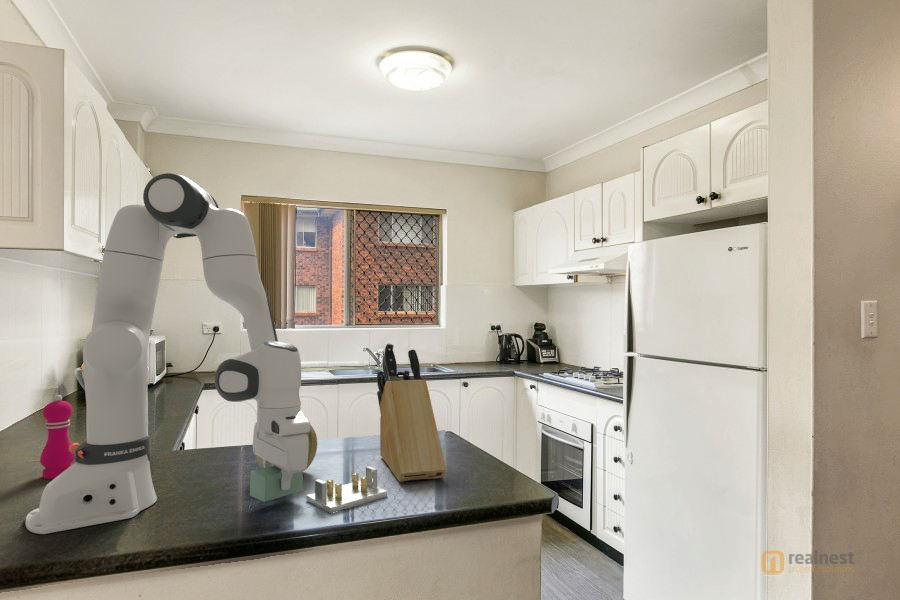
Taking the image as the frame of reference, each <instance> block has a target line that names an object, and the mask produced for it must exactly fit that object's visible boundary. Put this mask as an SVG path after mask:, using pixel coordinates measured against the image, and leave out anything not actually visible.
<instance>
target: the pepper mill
mask: <svg viewBox="0 0 900 600" xmlns="http://www.w3.org/2000/svg"><path fill="white" fill-rule="evenodd" d="M72 414H73V406H72V404H71V403H69V402H68V401H66V400H63V396H62V395H61V394H56V395H54V396H53V401H51V402H49V403H47V404H45V406H44V408H43V410H42V416H43V418H44V419H45V420H46V422H45V429H47V432H48V433H47V434H48V435H47V440H46V442H45V445H44V447H43V449H42V451H41V454H40V456H39V458H40V459H39V462H40V464H41V465H42V466H43V467H44V469H43V470H42V478H43V479H45V480H53V479H55V478H56V477H57V476H59V475H60V474H61V473H62V472H64V471H65V470H66V469H67V468H69V467H70V466H71V465H72V464H73V462H75V455H74V454H72V453H71V452H70V451H69V448H70V447H69V446H72V445H71V444H72V442H71V441H70V438H69V431H68V430H69V426H71V419H69V418H70V417H71V416H72Z"/></svg>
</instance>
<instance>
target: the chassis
mask: <svg viewBox="0 0 900 600" xmlns="http://www.w3.org/2000/svg"><path fill="white" fill-rule="evenodd" d="M386 497H388V490H387V489H384V488H381V487H379V486H378V469H377V468H375V467H374V466H370V465H368V466H366V467H365V476H361V477H360V480H359V473H358V472H354V473H352V474H351V482H349V483H346V484H343V483H339V482H338V483H336V484H334V479H327V480H326V481H325V480H322V479H315V480H314V492H312V493H309V494H306V498H305V499H306V500H307V501H306V502H309V503H310V504H312V505H313V504H314V505H313V506H316V507H317V508H319V507H320V508H319V509H320V510H323V511H325V512H326V511H327V513H328V512H329V514H330V513H332V514H334V513H333V512H335V513H337V512H336V511H338V512H341V511H340V510H342V511H344V510H343V509H345V510H347V508H348V509H351V508H353V507H354V508H355V507H357V506H361V505H364V504H367V503H370V502H373V501H377V500H381V499H383V498H386Z"/></svg>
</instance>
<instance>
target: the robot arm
mask: <svg viewBox="0 0 900 600" xmlns="http://www.w3.org/2000/svg"><path fill="white" fill-rule="evenodd" d="M142 197H143V198H142V199H143V204H128V205H125V206H122V207H121V208H120V209H119V210H117V212H116V214H115V216H114V218H113V221H112V224H111V226H110V229H109V232H108V234H107V238H106V242H105V247H104V249H103V250H104V251H103V256H102V262H101V267H100V271H99V277H98V282H97V287H96V296H95V297H96V298H95V303H94V304H95V305H94V312H93V319H92V326H91V331H90V332H89V333H88V334H87V336H86V337H85V339H84V341H83V345H82V346H83V347H82V363H83V379H84V381H83V382H84V392H85V394H84V395H85V404H86V406H85V407H86V411H85V412H86V413H85V414H86V415H85V416H86V418H85V419H86V420H85V422H86V424H85V425H86V441H84V442H82V443H81V444H79V443H78V442H73V443H71V445H72V446H69V447H70V448H69V451H70V452H71V453H72V454H74V455H75V460H74V463H72V464H71V466H70V467H69V468H67V469H66V470H65V471H64V472H62V473H61V474H60V475H59V476H57V477H56V478H55V479H51V481H49V482H47V484H46V486H45V488H44V489H43V491H42V493H41V496H40V501H39V506H38V507H37V508H35V509H33V510H31V511H30V512H28V514H27V515H26V516H25V527H26V529H27V530H28V531H29V532H31V533H33V534H39V535H46V534H51V533H57V532H62V531H68V530H73V529H79V528H84V527H89V526H93V525H100V524H105V523H111V522H116V521H121V520H126V519H130V518H131V519H132V518H133V517H134V518H135V516H137V515H138V514H139V513H140V512H141V511H143V510H145V509H147V508H149V507H151V506H152V505H154V503H156V502H157V500H158V497H157V494H156V491H155V488H154V484H153V480H152V474H151V468H150V467H151V465H150V461H151V456H152V441H151V440H152V439H151V435H150V434H149V397H148V395H149V394H148V393H149V392H148V390H149V388H148V387H149V386H148V346H149V340H150V336H151V330H152V324H153V320H154V319H153V318H154V313H155V309H156V303H157V297H158V293H159V287H160V286H159V285H160V281H161V275H162V270H163V264H164V263H163V262H164V258H165V252H166V247H167V244H168V241H169V240H171V239H172V238H175V239H182V238H191V237H196V238H197V239H198V242H199V244H200V248H201V258H202V259H201V260H202V271H203V276H204V280H205V282H206V286H207V288H208V289H209V291H210V292H211V293H212V294H213V295H214V296H215V297H217V298H218V299H220V300H221V301H224V302H225V303H227V304H229V305H231V306H232V307H233V308H234V309H236V310H237V311H238V312H239V314H240V315H241V316H242V318H243V320H244V323H245V327H246V328H245V329H246V332H247V337H248V341H249V346H250V351H249V352H247V353H243V354H241V355H238V356H234V357H230V358H228V359H225V360H223V361H222V362H221V363H220V364H219V365H218V367H217V369H216V371H215V374H214V386H215V389H216V391H217V393H218V394H219V397H221V398H222V399H223V400H226V401H228V402H230V403H231V402H232V403H233V402H234V403H242V402H246V401H250V400H254V401H256V422H255V424H254V427H253V435H252V450H253V451H252V452H253V454H254V455H255V454H256V455H257V456H259V457H261V458H263V465H264V468H266V467H270V466H274V465H275V466H277V467H278V468H280V469H281V473H282V478H281V480H279V484H280V485H279V487H280V488H281V489H282V490H287V489H290V484H291V479H292V476H293V474H294V473H299V472H305V471H306V470H307V469H306V467H307V463H308V448H309V440H308V435H307V434H306V432H310V425H311V422H310V420H308V418H307V417H306V415H305V414H304V413H303V411H302V410H301V409H302V407H301V405H302V402H301V398H300V389H301V386H302V360H301V355H300V351H299V349H298V348H297V347H296V346H295V345H293V344H292V343H288V342H286V341H285V342H284V341H279V340H278V334H277V330H276V325H275V320H274V317H273V312H272V306H271V304H270V300H269V297H268V294H267V291H266V290H265V288H264V285H263V282H262V279H261V275H260V269H259V264H258V258H257V250H256V249H257V248H256V244H255V240H254V235H253V232H252V228H251V225H250V222H249V219H248V217H247V216H246V215H245V214H244V213H243V212H241V211H239V210H238V209H234V208H227V207H225V208H224V207H223V208H222V207H221V208H219V204H218V203H217V201H216V200H215V198H214V197H213V196H212V195H211V194H209V192H208V191H207V190H206V189H205V188H204V187H202V186H201V185H199V184H198V183H195V182H194V181H192V180H191V179H189V178H188V177H186V176H184V175H180V174H177V173H172V172H167V173H160V174H157V175H156V176H154V177H152V178H151V179H150V180H149V181H148V182H147V184H145V187H144V190H143V194H142ZM256 455H255V456H256ZM305 469H306V470H305Z"/></svg>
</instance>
